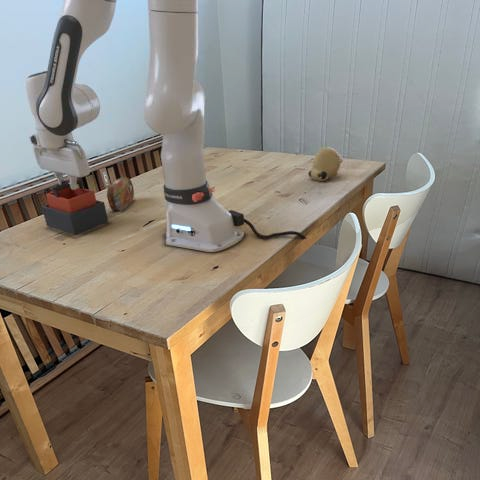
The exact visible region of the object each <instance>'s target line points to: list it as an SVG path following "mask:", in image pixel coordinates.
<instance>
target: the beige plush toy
mask: <svg viewBox="0 0 480 480" xmlns="http://www.w3.org/2000/svg"><path fill="white" fill-rule="evenodd" d="M342 162H343V158H341V156H340V154H339V151H337V150H336V149H334V148H333V147H328V146H323V147H320V148H319V149H318V151H317V154H316V155H315V157H314V161H313V164H312V166H311V170H309V171H308V173H307V175H308V178H310V179H312V180H313V181H316V182H326V181H327V180H329V179H331V178H333V177H338V175H339V173H338V172H339V170H340V168H341V164H342Z"/></svg>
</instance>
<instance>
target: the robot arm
mask: <svg viewBox="0 0 480 480" xmlns="http://www.w3.org/2000/svg"><path fill="white" fill-rule="evenodd" d="M116 5H117V0H63V2H62V8H61V11H60V15H59V18H58V21H57V23H56V27H55V30H54V34H53V38H52V44H51V49H50V54H49V59H48V63H47V70H44V71H40V72H37V73H33V74H30V75H29V76H28V77H26V80H25V89H26V96H27V100H28V105H29V109H30V112H31V114H32V115H33V118H34V121H35V130H36V132H35V133H33V134H31V135H29V136H28V139H29V142H30V144H32V150H33V155H34V157H35V161H36V163H37V165H38V166H39V168H40V169H41V170H46V171H50V172H53V175H54V177H55V179H56V180H57V182H58V185H60V184H63V183H66V182H68V180H67V179H65V178H64V175H66V176H67V178H68V179H69V181H70V183H68V186H69V189H72V190H75V189H77V187H78V184H76V182H77V178H84V177H87V176H89V175H90V173H91V167H90V164H89V161H88V158H87V155H86V152H85V150H84V149H83V147H82V145H80V144H79V142H78V141H77V140H74V136H73V131H75V130H77V129H79V128H81V127H83V126H85V125H88V124H89V123H91V122H94V120H96V119H97V118H98V117H99V114H100V110H101V105H100V99H99V98H98V96H97V94H96V92H95V91H94V90H93V89H92V88H91V87H90V86H88V85H87V84H81V83H77V82H76V80H77V74H78V70H79V65H80V61H81V59H82V57H83V55H84V53H85V52H86V51H87V50H88V48H89V47H90V46H91V45H93V43H95V42H96V41H97V40H99V39H100V38H101V37H103V36H104V35H105V34H106V33H107V32H108V31H109V30H110V27H111V25H112V22H113V19H114V16H115V11H116ZM147 12H148V32H149V63H148V71H147V80H146V81H147V82H146V83H147V84H146V86H147V87H146V93H145V94H146V95H145V100H144V103H143V105H142V106H143V107H142V114H143V118H144V122H145V123H146V125H147V127H149V129H151V130H152V131H153V132H154V133H156V134H157V135H162V142H161V143H162V145H161V150H160V161H161V168H162V176H163V183H164V184H163V195H164V199H165V201H166V213H165V214H166V215H165V216H166V230H165V231H166V232H165V244H166V245H167V246H170V247H178V248H182V249H190V250H195V251H201V252H206V253H216V252H217V253H218V252H220V251H224V250H227V249H229V248H231V247H233V246H234V245H236V244H237V243H239V242H240V241H242V240H243V238H244V236H245V234H244V233H245V232H244V231H243V230H241V229H239V227H241V226H243V225H245V224H246V225H248V227H249V228H250V229H251V231H252V233H253V234H254V235H255V236H257V237H258V238H259V239H264V240H268V239H272V238H275V237H284V236H288V235H289V236H290V235H293V236H296V237H299V238H300V239H302V240H307V237H306V236H305V235H304V234H303V233H301V232H300V231H295V230H289V231H287V230H286V231H281V232H273V233H270V234H261V233H259V232H258V230H257V229H256V228H255V226H254V224H252V223H251V222H250V221H249V220H247V219H246V218H245V215H244V213H242V212H239V211H237V210H233V209H230V210H227V208H225V207H224V206H223V205H222V204H221V203H220V202H219V201H218V200H217V199H216V198H215V197H214V195H213V192H215V191H216V190H215V188H216V187H215V186H212V187H211V186H210V184H209V182H208V180H207V176H206V175H207V174H206V164H205V151H204V150H205V149H204V148H205V147H204V145H205V106H206V93H205V91H204V89H203V87H202V85H201V84H200V83H199V82H198V81H197V80H195V76H196V69H197V68H196V67H197V61H198V56H199V52H200V51H199V46H200V45H199V43H200V42H199V41H200V40H199V36H200V35H199V0H147Z"/></svg>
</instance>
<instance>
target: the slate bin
mask: <svg viewBox="0 0 480 480" xmlns="http://www.w3.org/2000/svg"><path fill="white" fill-rule="evenodd" d="M96 202H97V204H95V205H93V206H90V207H88V208H85V209H82V210H80V211H77V212H75V213H72V214H69V213H65V212H62V211H59V210H56V209H52V208H49V205H48V203H47V204H45V205H42V206H41V210H42V213H43V217H44V221H45V223H46V226H47V227H49V228H52V229H55V230H58V231H61V232H64V233H67V234H69V235H71V236H72V235H73V236H77V235H80V234H82V233H85V232H87V231H89V230H92V229H94V228H96V227H99V226H101V225H104V224H107V223H108V222H109V217H108V213H107V209H106V205H105V202H104V201H101V200H98V199H96Z"/></svg>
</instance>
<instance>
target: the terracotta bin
mask: <svg viewBox="0 0 480 480" xmlns="http://www.w3.org/2000/svg"><path fill="white" fill-rule="evenodd" d="M68 183H70V180H69V181H67V182H66V183H63V184H60V185H59V184H58V185H53V186H52V190H53V191H50V192H48V193H45V197H46V201H47V204H48V205H49V208H52V209H56V210H59V211H62V212H65V213H69V214H72V213H75V212H77V211H80V210H82V209H85V208H88V207H90V206H93V205H95V204H97V202H96V200H97V198H96V193H95V190H92V189H87V188H85V187H84V184H83V180H82V177H77V182H76V184H77V185H78V186H77V189H75V190H72V189H69V186H68Z"/></svg>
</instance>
